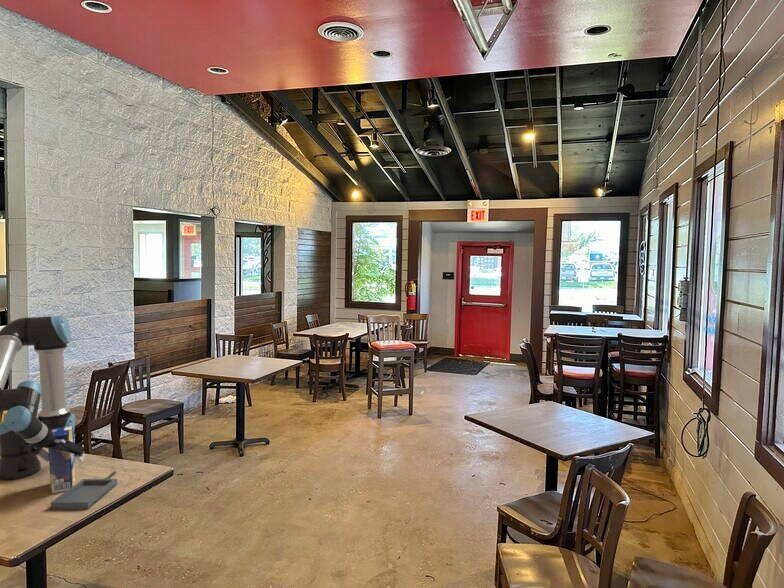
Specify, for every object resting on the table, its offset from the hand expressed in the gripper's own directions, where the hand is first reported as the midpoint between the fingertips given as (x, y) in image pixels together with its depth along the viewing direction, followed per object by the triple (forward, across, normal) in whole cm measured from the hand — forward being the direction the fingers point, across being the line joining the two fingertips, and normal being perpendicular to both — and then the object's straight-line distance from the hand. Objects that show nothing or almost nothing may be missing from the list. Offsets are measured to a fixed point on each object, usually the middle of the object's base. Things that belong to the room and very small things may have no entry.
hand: (65, 458), depth 206 cm
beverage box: (+6, 0, -9) cm, 11 cm away
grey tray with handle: (+3, +14, -11) cm, 18 cm away
